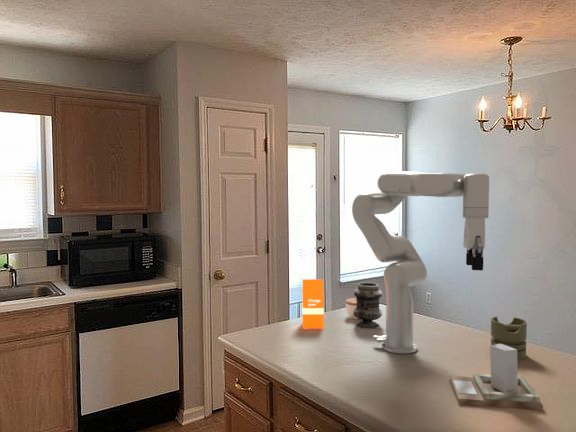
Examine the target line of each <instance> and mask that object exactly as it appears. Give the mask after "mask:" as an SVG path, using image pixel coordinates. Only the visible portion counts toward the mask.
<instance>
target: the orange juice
mask: <svg viewBox="0 0 576 432" xmlns="http://www.w3.org/2000/svg"><path fill="white" fill-rule="evenodd" d="M301 293H302V294H301V295H302V296H301V297H302V299H301V300H302V305H301V307H302V310H301V311H302V329H324V320H325V319H324V317H325V316H324V315H325V314H324V313H325V309H324V308H325V307H324V301H325V300H324V295H325V294H324V280H323V278H322V279H319V278H318V279H309V278H308V279H303V278H302V291H301Z"/></svg>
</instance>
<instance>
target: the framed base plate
mask: <svg viewBox="0 0 576 432" xmlns="http://www.w3.org/2000/svg"><path fill="white" fill-rule="evenodd" d="M449 383H450V386H451V388H452V391H453V394H454V396H455V399H456V402H457V404H458V405H466V406H468V405H469V406H479V407H491V408H493V407H494V408H495V407H496V408H508V409H519V410H520V409H522V410H534V411H543V410H544V404H543V403H542V401H541V398H540V395H539V394H538V393H537V392H536V390H535V389H534V388H533V387H532V385H531V384H530V383H529V382H528V380H527V379H526V377H524V376H518V392H517V393H504V392H501V391H499V390H497V389H495V388H493V387H491V374H485V373H482V374H481V373H472V376H470V377H468V376H456V375H455V376H454V375H449Z"/></svg>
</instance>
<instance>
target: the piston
mask: <svg viewBox="0 0 576 432" xmlns="http://www.w3.org/2000/svg"><path fill="white" fill-rule="evenodd" d="M527 327H528V323H527V321H526V320H525V319H522V318H520V317H513V319H512V321H511V322H509V323H503V322H500V321H499V320H498V316H492V317H491V318H490V336H491V337H490V346H491V345H496V344H503V345H506V346H509V347H511V348H514V349H516V350H517V361H521V360H524V359H526V358H527V341H526V340H527V335H528V334H527V333H528V332H527V331H528V330H527V329H528V328H527Z"/></svg>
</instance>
